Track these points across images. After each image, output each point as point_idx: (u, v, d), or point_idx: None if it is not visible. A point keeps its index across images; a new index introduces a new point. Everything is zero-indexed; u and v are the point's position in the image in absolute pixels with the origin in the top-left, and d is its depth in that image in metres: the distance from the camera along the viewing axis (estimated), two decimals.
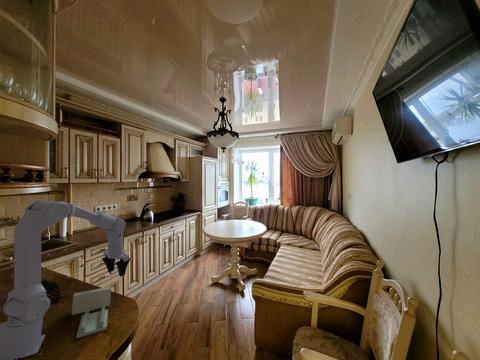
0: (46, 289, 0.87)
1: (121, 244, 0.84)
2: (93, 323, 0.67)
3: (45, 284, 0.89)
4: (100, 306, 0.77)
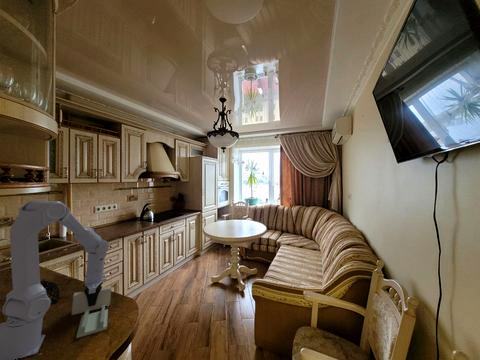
0: (45, 289, 0.87)
1: (97, 271, 0.76)
2: (93, 323, 0.67)
3: (44, 284, 0.89)
4: (100, 306, 0.77)
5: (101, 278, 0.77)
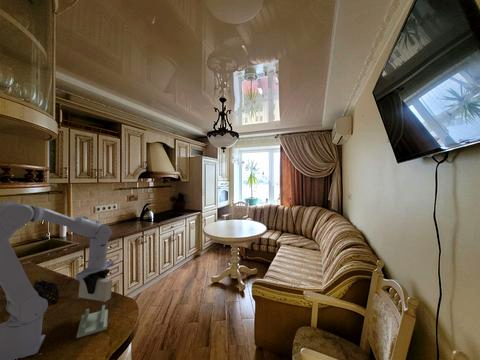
0: (44, 290, 0.87)
1: (93, 258, 0.71)
2: (93, 323, 0.67)
3: (43, 285, 0.88)
4: (98, 298, 0.71)
5: (98, 266, 0.72)
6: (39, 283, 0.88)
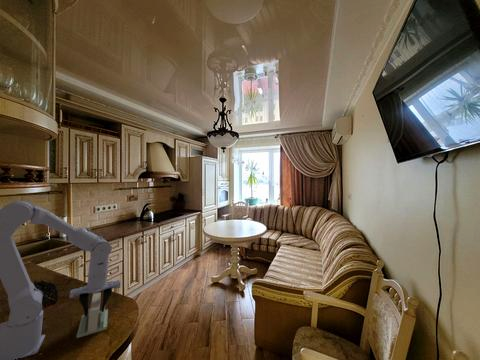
0: (43, 290, 0.86)
1: (88, 276, 0.67)
2: None
3: (42, 285, 0.88)
4: None
5: (91, 287, 0.66)
6: (38, 283, 0.88)
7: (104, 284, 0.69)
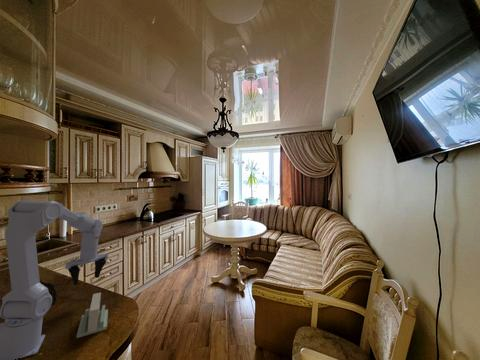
0: None
1: (83, 250, 0.78)
2: None
3: None
4: None
5: (87, 258, 0.78)
6: None
7: (96, 255, 0.82)
